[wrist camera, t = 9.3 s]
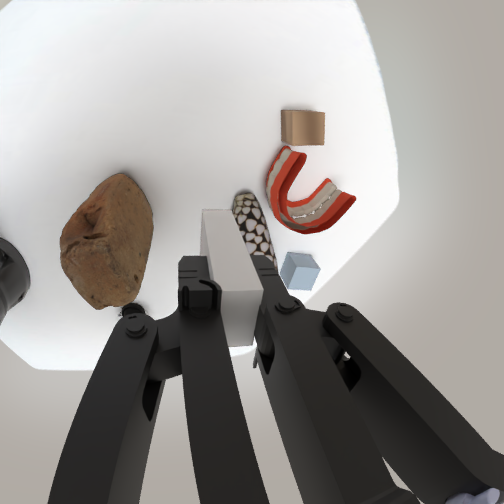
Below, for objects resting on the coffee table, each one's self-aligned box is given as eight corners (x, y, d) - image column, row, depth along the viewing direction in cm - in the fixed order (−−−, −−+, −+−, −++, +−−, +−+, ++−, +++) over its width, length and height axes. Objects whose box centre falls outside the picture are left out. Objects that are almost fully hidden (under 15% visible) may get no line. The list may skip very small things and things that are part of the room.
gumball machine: (116, 318, 51) (110, 355, 43) (117, 297, 48) (109, 334, 40) (147, 323, 53) (144, 361, 45) (150, 303, 51) (146, 341, 42)
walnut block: (281, 140, 40) (292, 145, 36) (280, 110, 38) (292, 111, 34) (310, 139, 41) (324, 145, 37) (310, 110, 39) (324, 112, 34)
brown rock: (159, 222, 43) (147, 305, 26) (120, 238, 43) (92, 323, 26) (133, 163, 37) (93, 215, 20) (92, 182, 37) (37, 245, 20)
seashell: (287, 256, 52) (307, 289, 44) (229, 289, 53) (238, 325, 45) (249, 185, 43) (265, 209, 35) (181, 225, 44) (181, 258, 36)
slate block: (279, 273, 54) (287, 289, 50) (287, 251, 52) (296, 266, 48) (301, 275, 56) (310, 290, 51) (310, 254, 53) (320, 268, 49)
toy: (244, 192, 44) (255, 212, 37) (281, 141, 40) (301, 150, 34) (299, 227, 49) (317, 249, 43) (334, 182, 46) (358, 198, 40)
